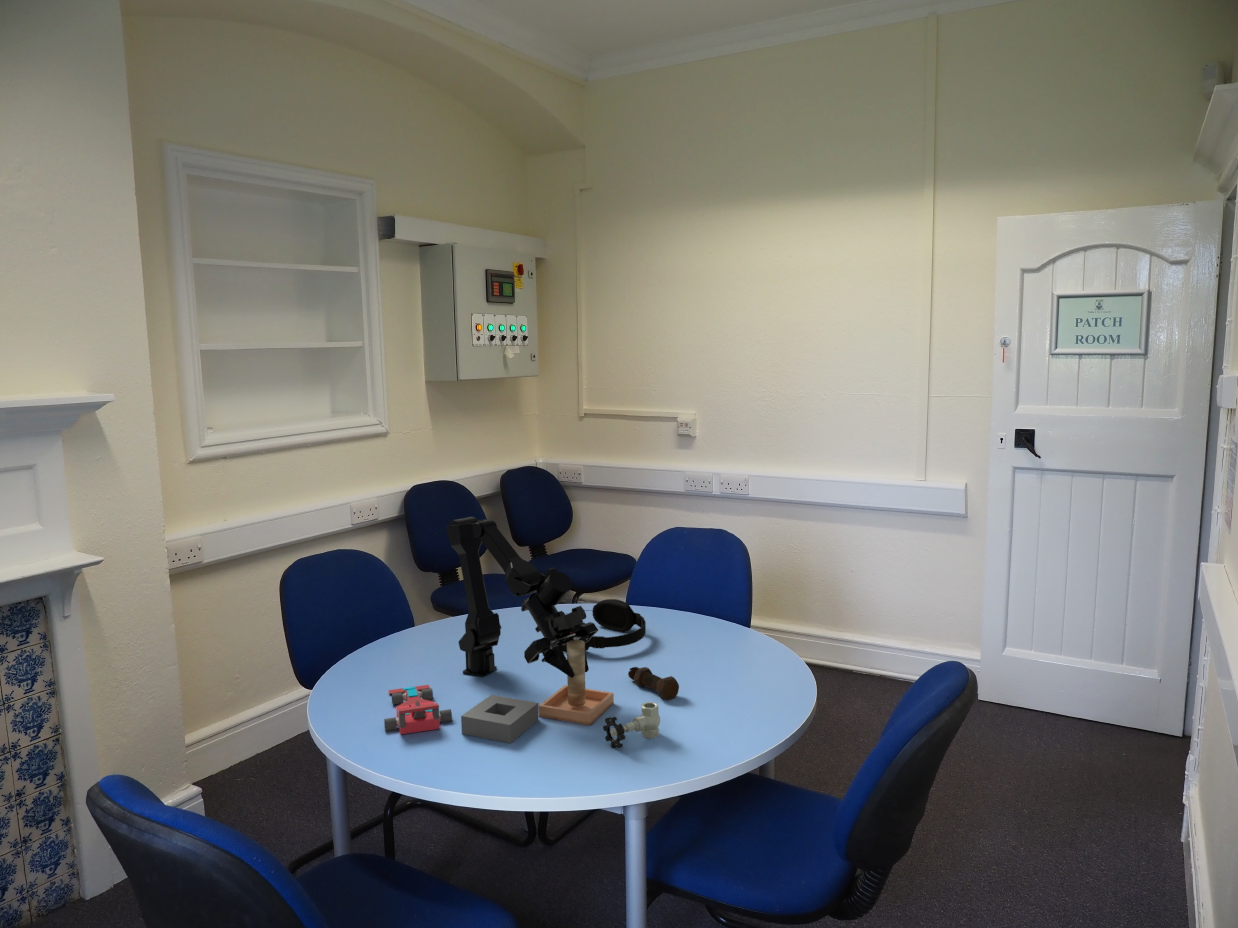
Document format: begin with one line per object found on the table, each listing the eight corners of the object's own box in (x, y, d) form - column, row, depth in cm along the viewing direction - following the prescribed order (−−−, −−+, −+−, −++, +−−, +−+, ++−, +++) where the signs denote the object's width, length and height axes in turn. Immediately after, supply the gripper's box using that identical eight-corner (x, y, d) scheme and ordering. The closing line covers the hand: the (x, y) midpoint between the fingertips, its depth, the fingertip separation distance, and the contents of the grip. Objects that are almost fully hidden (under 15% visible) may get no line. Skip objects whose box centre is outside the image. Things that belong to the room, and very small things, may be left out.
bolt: (635, 686, 208) (673, 704, 196) (620, 680, 205) (658, 698, 193) (644, 664, 209) (682, 680, 197) (629, 658, 206) (667, 674, 194)
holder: (461, 733, 179) (461, 715, 178) (491, 711, 189) (491, 694, 189) (510, 743, 174) (510, 724, 173) (538, 719, 185) (538, 702, 184)
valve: (648, 726, 181) (602, 742, 174) (648, 697, 180) (602, 712, 173) (667, 737, 176) (621, 754, 169) (667, 707, 175) (621, 723, 168)
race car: (438, 663, 204) (453, 703, 181) (439, 687, 205) (454, 729, 182) (378, 671, 200) (385, 713, 176) (379, 695, 201) (386, 740, 177)
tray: (539, 716, 187) (538, 705, 186) (564, 695, 198) (564, 684, 198) (590, 725, 182) (590, 714, 181) (613, 703, 193) (613, 692, 193)
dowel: (568, 706, 187) (567, 646, 186) (567, 699, 191) (566, 640, 190) (586, 705, 188) (585, 645, 186) (584, 698, 192) (583, 639, 190)
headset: (564, 622, 253) (563, 594, 252) (651, 624, 249) (650, 596, 248) (543, 655, 225) (542, 624, 224) (640, 658, 221) (640, 626, 220)
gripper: (531, 606, 183) (566, 667, 176) (592, 588, 196) (627, 644, 190) (509, 633, 189) (542, 693, 183) (569, 613, 202) (602, 669, 196)
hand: (580, 673), depth 188 cm, fingers closed on dowel, 4 cm apart
